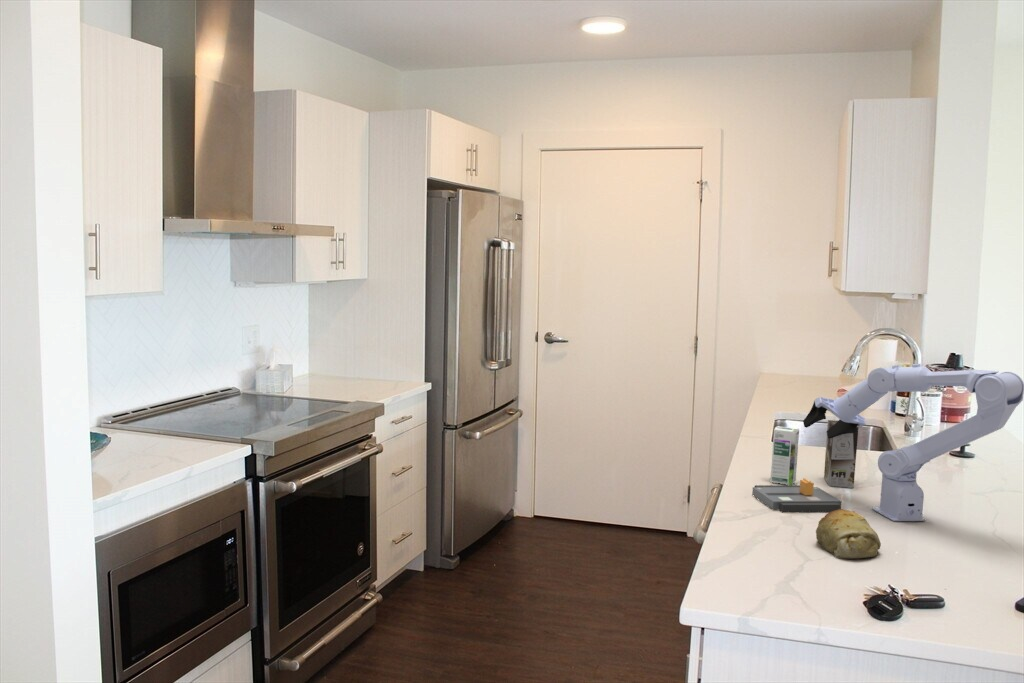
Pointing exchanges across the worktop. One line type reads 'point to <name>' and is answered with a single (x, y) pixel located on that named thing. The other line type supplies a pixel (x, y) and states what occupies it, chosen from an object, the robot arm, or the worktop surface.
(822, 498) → the panel
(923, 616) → the worktop surface
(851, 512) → the pastry
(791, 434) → the syrup box
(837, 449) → the coffee box
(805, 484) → the knob
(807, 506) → the dark grey flat bars
